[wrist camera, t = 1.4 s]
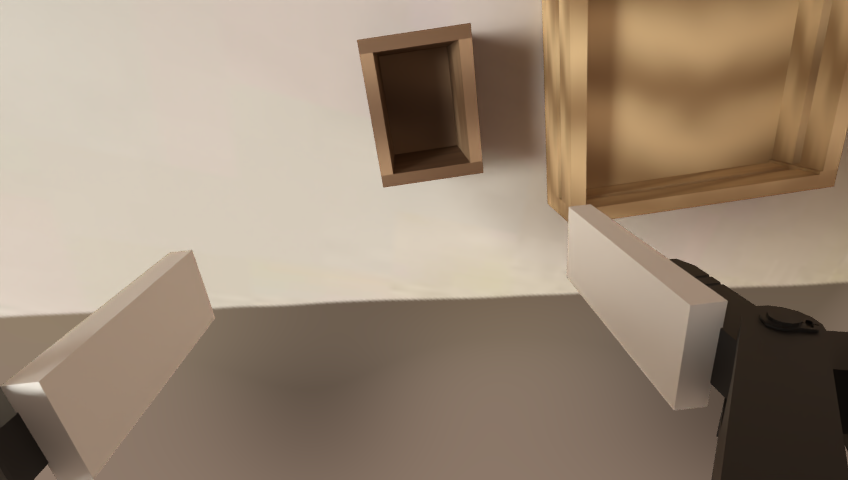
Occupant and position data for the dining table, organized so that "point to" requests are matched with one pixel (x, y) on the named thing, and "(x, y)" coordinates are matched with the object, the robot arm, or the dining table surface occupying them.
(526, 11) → the dining table surface
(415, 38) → the walnut crate
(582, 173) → the oak crate
